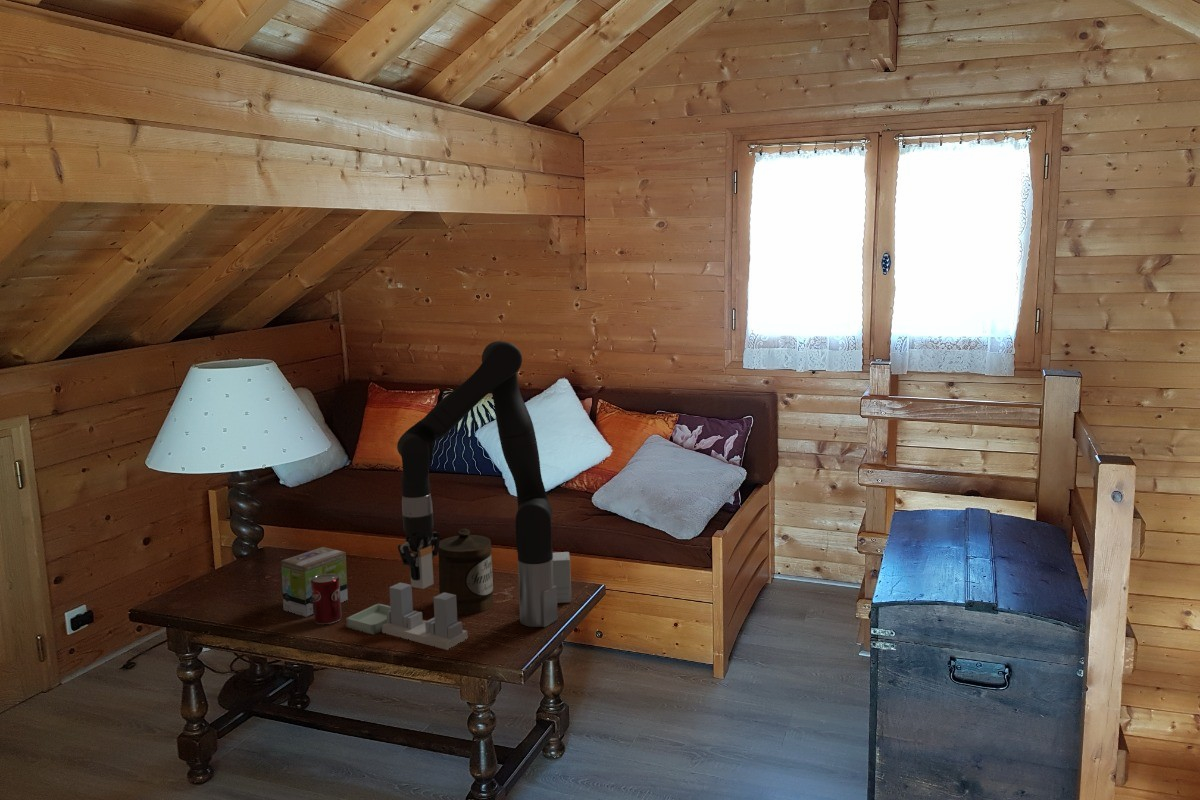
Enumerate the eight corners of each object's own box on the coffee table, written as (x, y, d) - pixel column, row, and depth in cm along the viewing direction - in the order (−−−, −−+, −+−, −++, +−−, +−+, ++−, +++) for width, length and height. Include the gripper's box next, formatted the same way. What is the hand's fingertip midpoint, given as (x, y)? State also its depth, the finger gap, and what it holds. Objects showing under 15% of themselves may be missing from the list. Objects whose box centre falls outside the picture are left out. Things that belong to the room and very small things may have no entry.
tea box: (307, 618, 253) (303, 566, 251) (283, 611, 259) (279, 560, 256) (349, 600, 266) (346, 550, 264) (325, 594, 271) (322, 545, 269)
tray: (406, 618, 252) (405, 609, 251) (373, 634, 242) (373, 625, 241) (378, 611, 257) (378, 603, 256) (346, 627, 247) (345, 618, 246)
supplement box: (571, 593, 268) (570, 551, 266) (571, 603, 261) (570, 559, 259) (545, 594, 268) (544, 552, 266) (544, 604, 260) (543, 560, 258)
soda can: (313, 627, 247) (310, 583, 245) (314, 616, 254) (311, 574, 252) (341, 623, 249) (339, 580, 247) (341, 613, 256) (339, 571, 254)
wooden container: (483, 616, 252) (480, 538, 249) (432, 613, 255) (428, 535, 252) (500, 596, 267) (497, 522, 263) (451, 593, 270) (447, 520, 266)
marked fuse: (433, 583, 239) (431, 546, 237) (423, 589, 235) (420, 551, 234) (421, 581, 241) (419, 544, 239) (410, 586, 237) (408, 548, 236)
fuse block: (467, 638, 238) (465, 593, 236) (447, 650, 231) (445, 603, 229) (403, 622, 249) (401, 579, 248) (382, 632, 243) (379, 588, 241)
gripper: (409, 521, 227) (414, 588, 230) (447, 506, 239) (451, 570, 242) (386, 517, 231) (391, 583, 234) (425, 503, 243) (429, 566, 246)
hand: (422, 576), depth 238 cm, fingers closed on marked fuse, 4 cm apart
